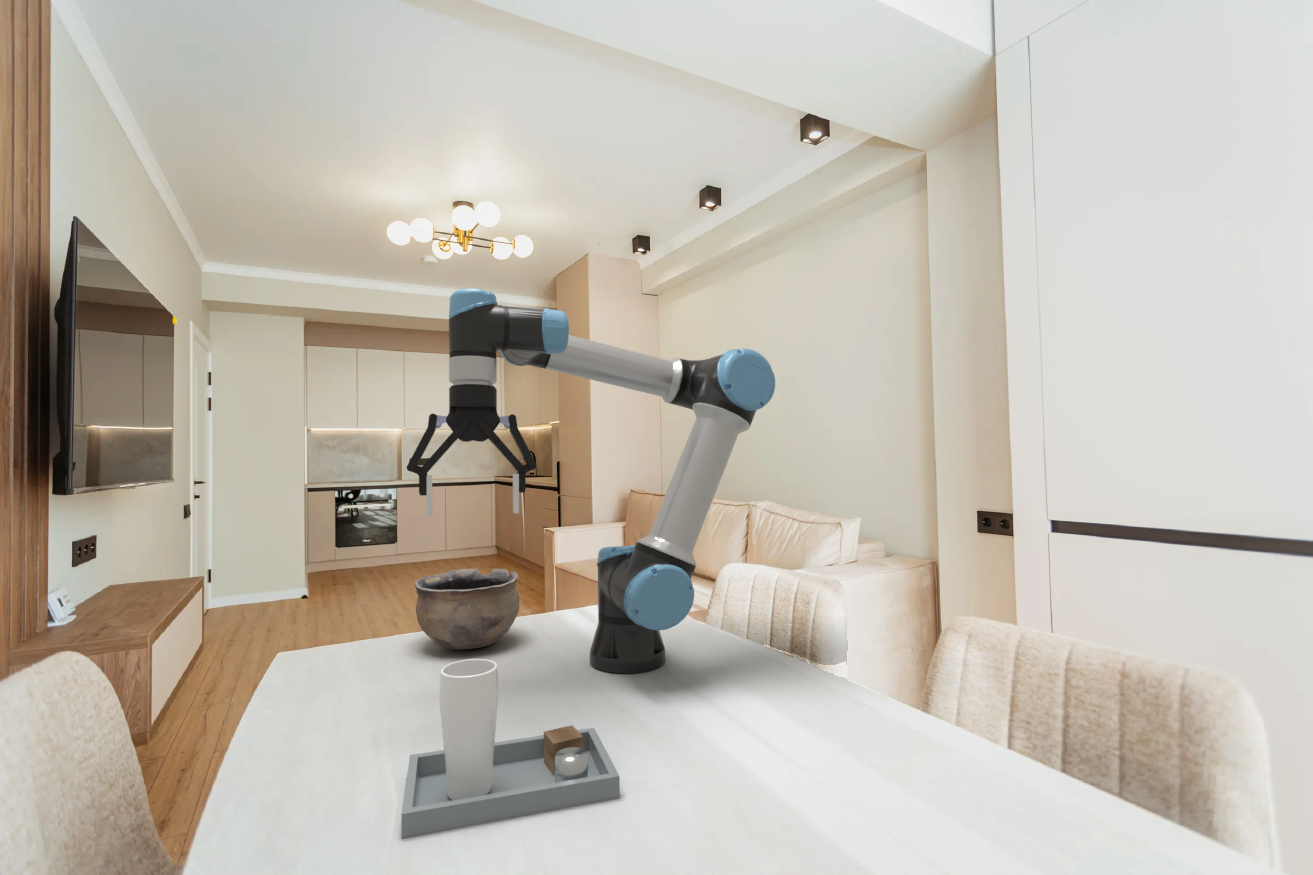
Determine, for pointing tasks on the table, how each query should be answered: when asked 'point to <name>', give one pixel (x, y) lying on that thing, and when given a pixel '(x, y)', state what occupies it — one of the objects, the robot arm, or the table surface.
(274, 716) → the table surface
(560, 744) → the walnut cube
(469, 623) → the ceramic bowl
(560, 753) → the metal cylinder
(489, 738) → the drinking glass
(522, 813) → the collection tray
